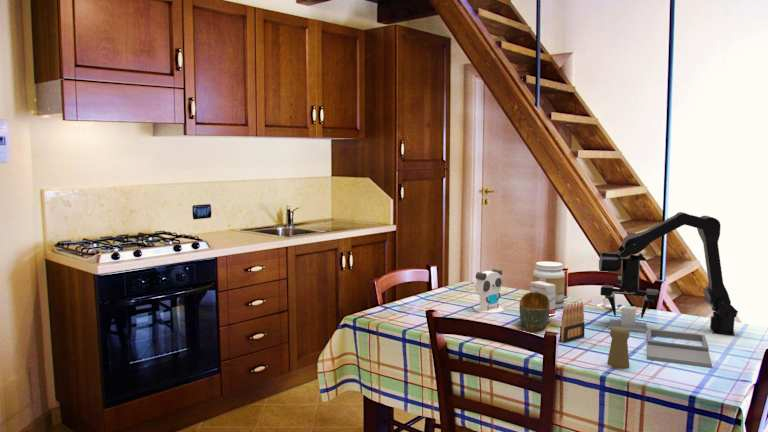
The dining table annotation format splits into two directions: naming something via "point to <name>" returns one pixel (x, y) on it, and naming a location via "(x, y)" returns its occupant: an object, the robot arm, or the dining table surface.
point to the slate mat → (638, 328)
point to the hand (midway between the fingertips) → (628, 316)
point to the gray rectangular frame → (678, 349)
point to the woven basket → (534, 311)
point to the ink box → (545, 292)
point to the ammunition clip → (572, 323)
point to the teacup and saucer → (606, 304)
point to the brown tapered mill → (619, 348)
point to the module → (628, 318)
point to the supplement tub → (552, 278)
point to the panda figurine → (489, 291)
